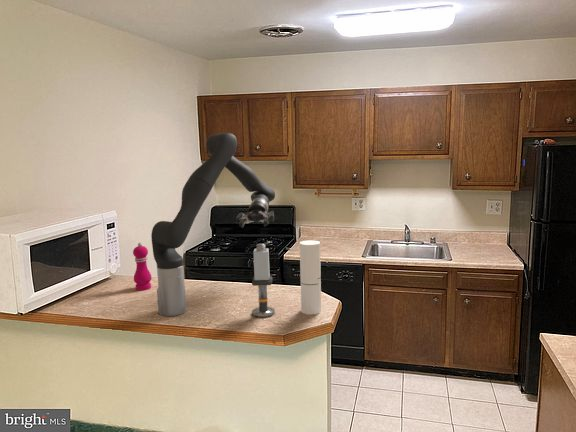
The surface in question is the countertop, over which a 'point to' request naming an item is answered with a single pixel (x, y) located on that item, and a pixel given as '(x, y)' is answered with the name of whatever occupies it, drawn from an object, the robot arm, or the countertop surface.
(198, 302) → the countertop surface
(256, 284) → the ring
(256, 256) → the sleeve
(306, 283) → the cylindrical container
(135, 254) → the pepper mill
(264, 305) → the pipe stand
